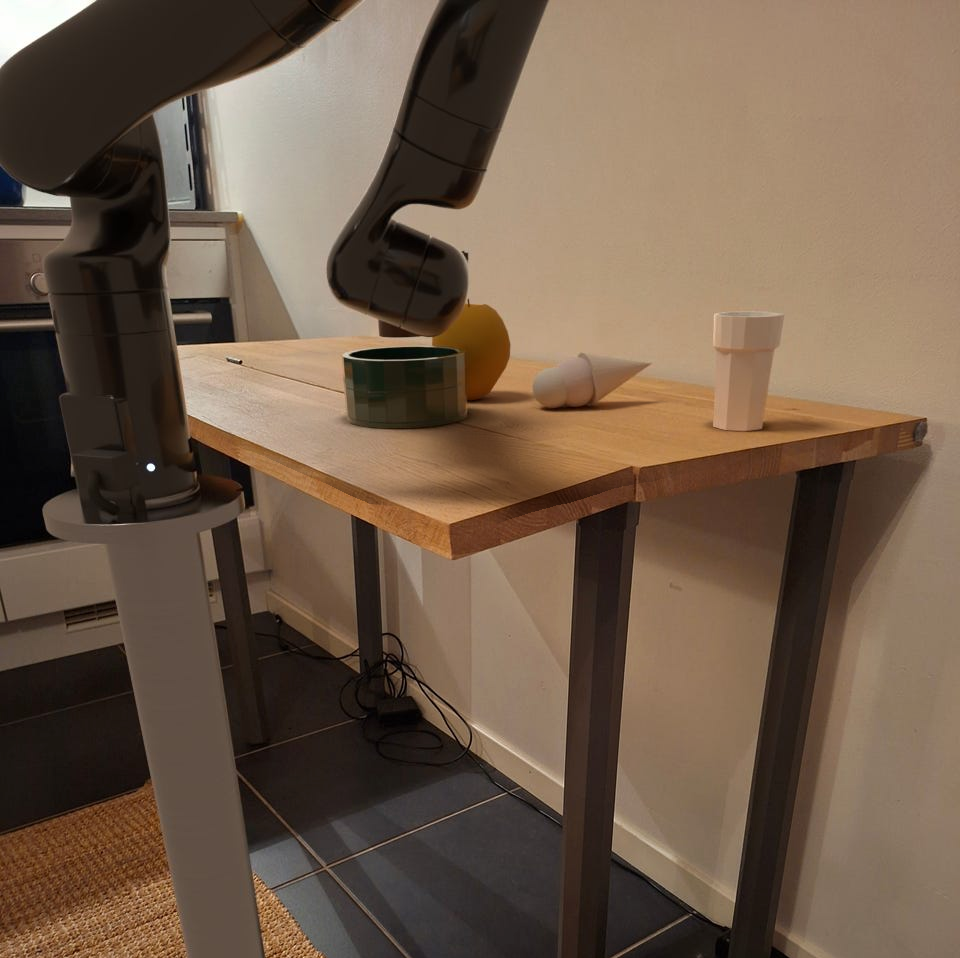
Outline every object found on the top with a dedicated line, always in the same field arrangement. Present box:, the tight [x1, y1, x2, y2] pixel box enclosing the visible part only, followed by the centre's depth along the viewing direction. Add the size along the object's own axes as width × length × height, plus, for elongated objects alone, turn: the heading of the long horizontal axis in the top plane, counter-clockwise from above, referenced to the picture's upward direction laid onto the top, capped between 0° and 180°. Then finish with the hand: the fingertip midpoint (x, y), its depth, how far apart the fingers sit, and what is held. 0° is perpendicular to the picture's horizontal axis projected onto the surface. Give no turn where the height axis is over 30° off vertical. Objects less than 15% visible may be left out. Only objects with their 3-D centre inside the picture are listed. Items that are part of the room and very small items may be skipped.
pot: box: [341, 345, 468, 430], centre depth 101 cm, size 14×14×7 cm
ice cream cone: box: [532, 352, 653, 409], centre depth 106 cm, size 6×6×15 cm
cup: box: [712, 310, 785, 432], centre depth 92 cm, size 7×7×11 cm
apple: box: [431, 298, 512, 401], centre depth 111 cm, size 10×10×12 cm
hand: (400, 265), depth 98 cm, fingers closed on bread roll, 5 cm apart
